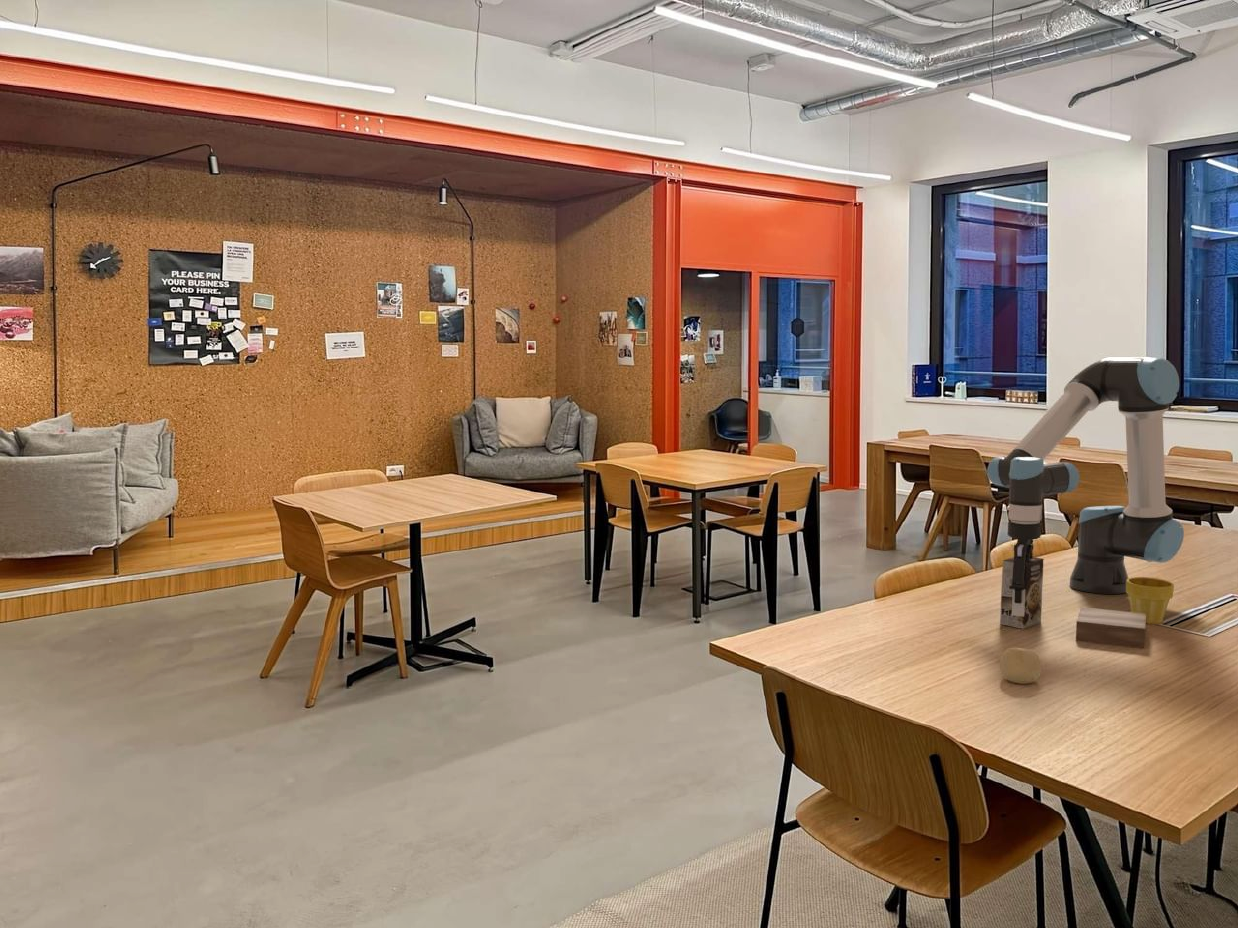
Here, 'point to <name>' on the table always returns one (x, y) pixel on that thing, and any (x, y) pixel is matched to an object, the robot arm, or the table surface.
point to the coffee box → (1031, 594)
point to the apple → (1020, 665)
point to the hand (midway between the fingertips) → (1021, 610)
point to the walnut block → (1111, 627)
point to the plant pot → (1149, 597)
